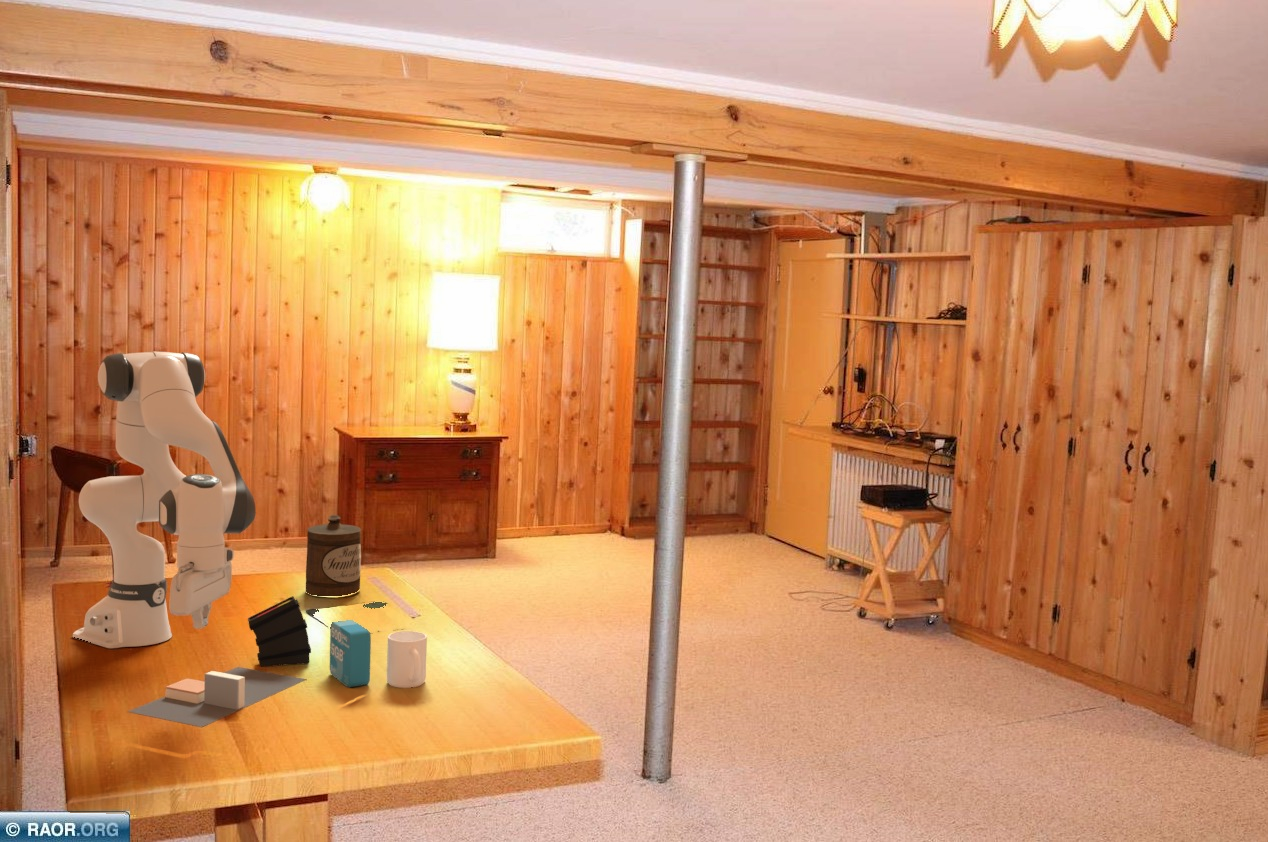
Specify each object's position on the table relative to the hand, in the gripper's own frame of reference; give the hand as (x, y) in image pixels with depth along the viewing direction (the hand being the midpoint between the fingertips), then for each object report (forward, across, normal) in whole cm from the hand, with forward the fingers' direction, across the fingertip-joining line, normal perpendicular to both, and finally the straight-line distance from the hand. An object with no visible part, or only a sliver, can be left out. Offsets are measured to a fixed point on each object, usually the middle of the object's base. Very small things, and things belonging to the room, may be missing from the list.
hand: (200, 627), depth 226 cm
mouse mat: (+16, +71, -12) cm, 73 cm away
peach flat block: (+14, +2, +5) cm, 15 cm away
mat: (+16, +7, -2) cm, 18 cm away
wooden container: (+15, +96, +5) cm, 97 cm away
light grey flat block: (+16, +1, -4) cm, 16 cm away
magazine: (+16, +30, -4) cm, 35 cm away
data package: (+16, +22, -23) cm, 36 cm away
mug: (+17, +22, -36) cm, 46 cm away
